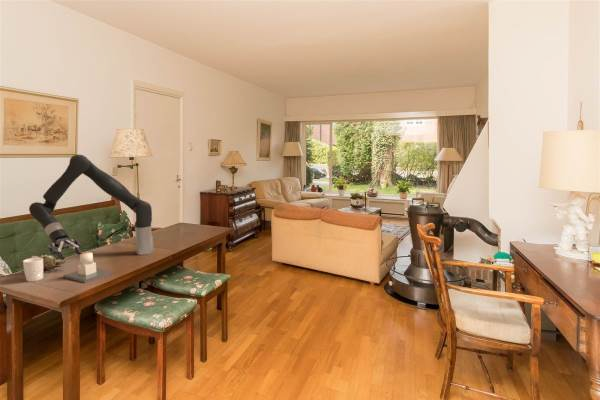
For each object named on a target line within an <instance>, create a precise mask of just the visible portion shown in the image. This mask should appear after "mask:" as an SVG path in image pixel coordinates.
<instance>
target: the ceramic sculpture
mask: <svg viewBox="0 0 600 400" xmlns="http://www.w3.org/2000/svg"><path fill="white" fill-rule="evenodd" d="M30 256H31V257H30V258H37V257H41V258H43V270H48V271H51V270H53V269H55V268H56V266H61V265H63V264H65V263H67V261H63V260H62V261H61V259H56V257H55V256H54V255H47V253H43V254H41V255H39V256H37V255H30Z"/></svg>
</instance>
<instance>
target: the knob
mask: <svg viewBox="0 0 600 400" xmlns="http://www.w3.org/2000/svg"><path fill="white" fill-rule="evenodd" d="M96 268H97V263H96V262H94V255H93V252H82V253H81V254H80V255H79V263H78V264H77V271H78V273H79V274H81V275H89V274H92V273H95V272H96Z"/></svg>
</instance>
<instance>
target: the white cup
mask: <svg viewBox="0 0 600 400" xmlns="http://www.w3.org/2000/svg"><path fill="white" fill-rule="evenodd" d="M22 263H23V264H22V265H23V272H24V276H25V280H26V282H28V283H29V282H36V281H40V280H43V279H44V269H43V258H41V257H40V256H38V257H37V258H31V257H29V258H26V259H24V260H22Z"/></svg>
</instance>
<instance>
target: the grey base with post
mask: <svg viewBox="0 0 600 400" xmlns="http://www.w3.org/2000/svg"><path fill="white" fill-rule="evenodd" d="M111 274H112V271H111V270H109V269H108V270H107V269H102V268H100V267H96V272H95V273H92V274H89V275H81V274H79V273H78V270H76V271H73V272H70V273H65V274H63V279H67V280H72V281H75V282H80V283H83V284H84V283H88V282H89V283H90V282H92V281H94V280H97V279H100V278H103V277H105V276H109V275H111Z"/></svg>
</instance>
